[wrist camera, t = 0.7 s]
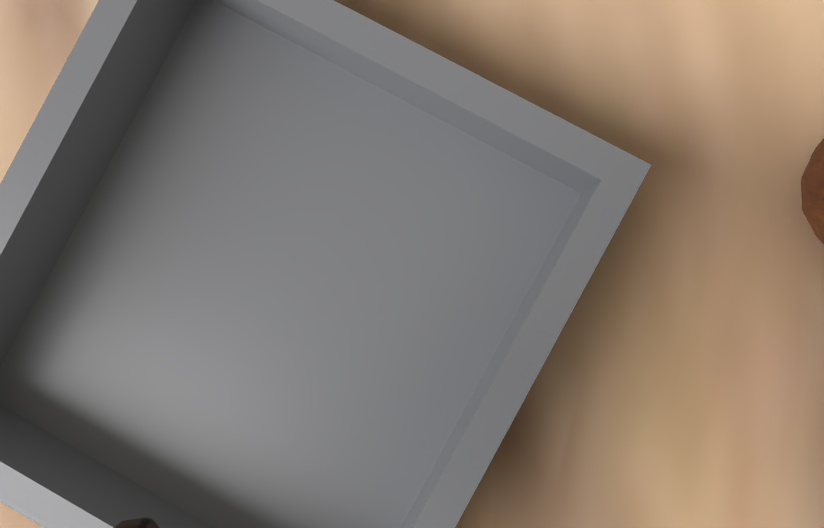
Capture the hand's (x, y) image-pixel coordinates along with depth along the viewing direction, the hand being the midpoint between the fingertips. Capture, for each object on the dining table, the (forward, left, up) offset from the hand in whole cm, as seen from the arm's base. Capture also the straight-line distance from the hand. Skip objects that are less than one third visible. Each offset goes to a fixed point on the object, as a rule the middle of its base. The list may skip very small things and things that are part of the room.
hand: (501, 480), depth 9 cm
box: (+7, +1, -14) cm, 16 cm away
